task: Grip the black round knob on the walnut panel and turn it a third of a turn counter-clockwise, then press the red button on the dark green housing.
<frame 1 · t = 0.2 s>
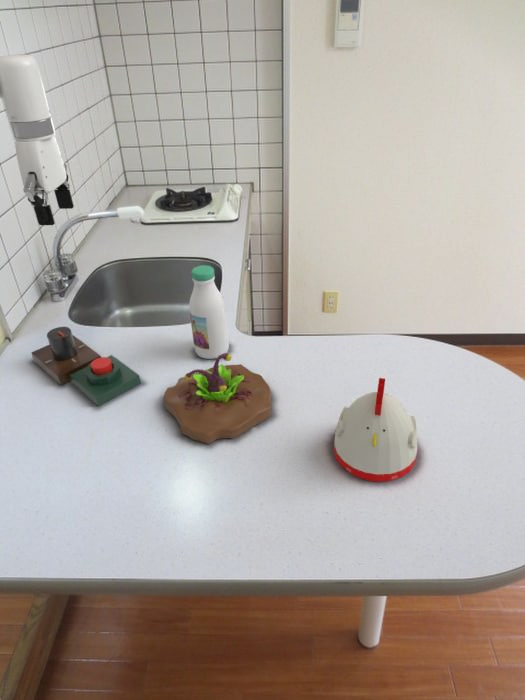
hand: (57, 216, 110), 30 cm above the table, tool pointing down, fingers open, 9 cm apart
lock knob: (62, 342, 114), point 5 cm above the table, hinge at 0.0°
kitchen timer: (374, 451, 91), on the table
button box: (106, 383, 110), on the table
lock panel: (68, 363, 117), on the table
button: (101, 366, 107), point 4 cm above the table, slide at 0.1 cm
plant: (221, 405, 103), on the table
milk bottle: (212, 350, 119), on the table
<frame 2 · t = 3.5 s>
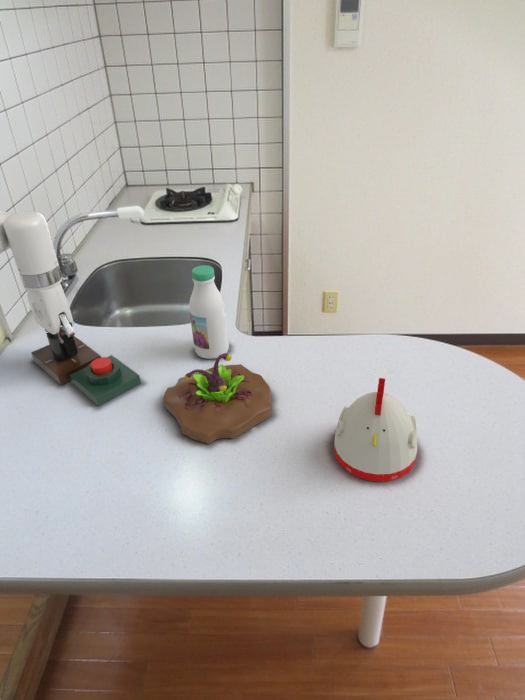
hand: (64, 350, 115), 4 cm above the table, tool pointing down, fingers closed on lock knob, 5 cm apart
lock knob: (62, 342, 114), point 5 cm above the table, hinge at -0.1°, touching gripper
everything else where it was.
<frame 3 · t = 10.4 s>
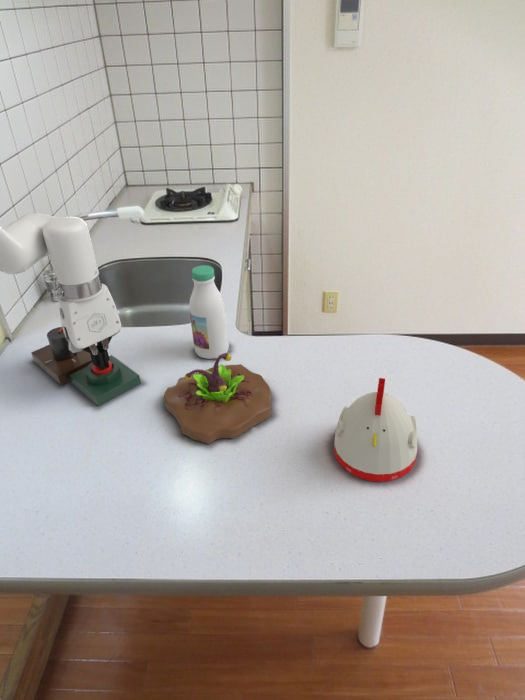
hand: (102, 365, 107), 5 cm above the table, tool pointing down, fingers closed
lock knob: (62, 342, 114), point 5 cm above the table, hinge at 120.4°
button: (102, 369, 108), point 4 cm above the table, slide at -0.7 cm, touching gripper
everything else where it was.
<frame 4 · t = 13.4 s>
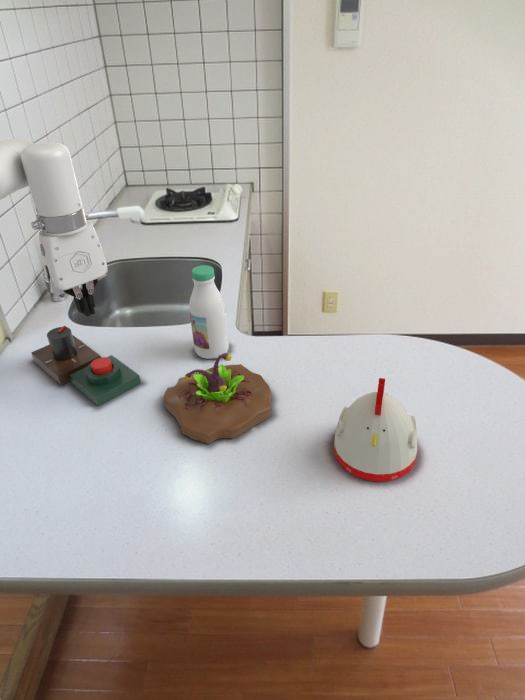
hand: (87, 312, 100), 17 cm above the table, tool pointing down, fingers closed
button: (101, 366, 107), point 4 cm above the table, slide at 0.1 cm
everything else where it was.
at the end: lock knob at +120° (first picture: +0°); button pushed in 1.1 cm at the most during the clip, back to where it started at the end; button slide at 0.1 cm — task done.
